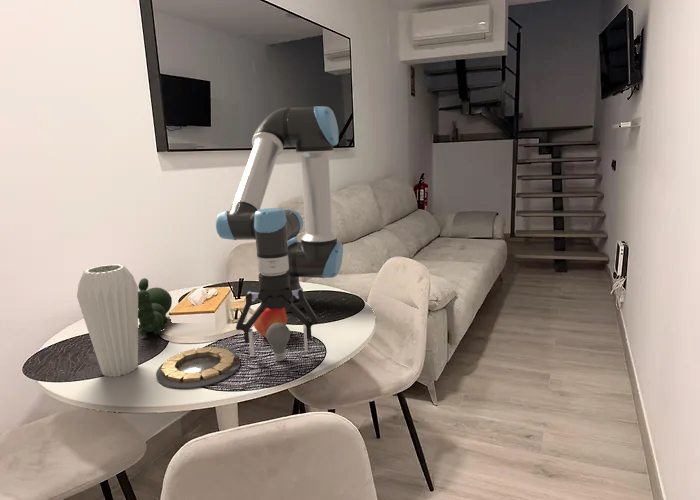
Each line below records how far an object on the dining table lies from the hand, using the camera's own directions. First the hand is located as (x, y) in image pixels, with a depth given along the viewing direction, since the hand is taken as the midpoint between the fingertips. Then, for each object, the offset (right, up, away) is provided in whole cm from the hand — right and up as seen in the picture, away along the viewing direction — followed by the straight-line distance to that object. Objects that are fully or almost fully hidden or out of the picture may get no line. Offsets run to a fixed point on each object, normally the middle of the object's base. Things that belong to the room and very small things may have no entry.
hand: (279, 352), depth 121 cm
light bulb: (0, -2, +1) cm, 2 cm away
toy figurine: (-42, +2, +26) cm, 49 cm away
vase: (-40, -4, -2) cm, 40 cm away
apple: (-5, +1, +16) cm, 16 cm away
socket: (-20, -3, -3) cm, 20 cm away
